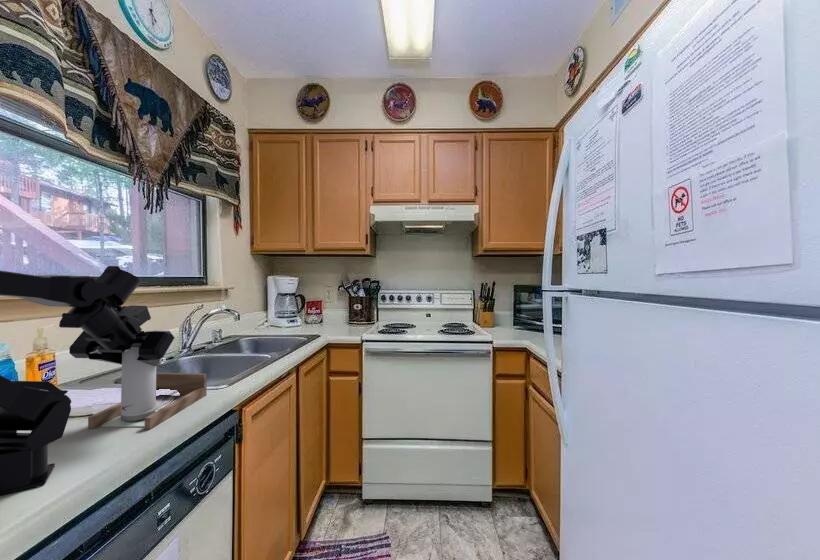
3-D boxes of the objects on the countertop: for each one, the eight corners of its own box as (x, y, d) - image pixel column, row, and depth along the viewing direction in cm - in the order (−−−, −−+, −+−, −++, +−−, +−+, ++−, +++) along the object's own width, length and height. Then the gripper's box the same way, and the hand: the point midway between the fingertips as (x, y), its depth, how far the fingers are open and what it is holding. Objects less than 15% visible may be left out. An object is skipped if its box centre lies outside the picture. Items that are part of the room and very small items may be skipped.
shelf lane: (150, 429, 73) (150, 402, 73) (88, 428, 73) (88, 400, 73) (206, 395, 94) (206, 373, 93) (158, 394, 93) (158, 372, 93)
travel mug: (119, 424, 73) (120, 332, 73) (122, 414, 79) (123, 328, 79) (155, 418, 77) (156, 330, 77) (155, 408, 82) (157, 326, 82)
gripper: (169, 294, 74) (199, 336, 85) (83, 293, 74) (124, 334, 85) (140, 337, 66) (177, 376, 77) (43, 335, 66) (94, 375, 77)
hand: (143, 364), depth 79 cm, fingers closed on travel mug, 6 cm apart
